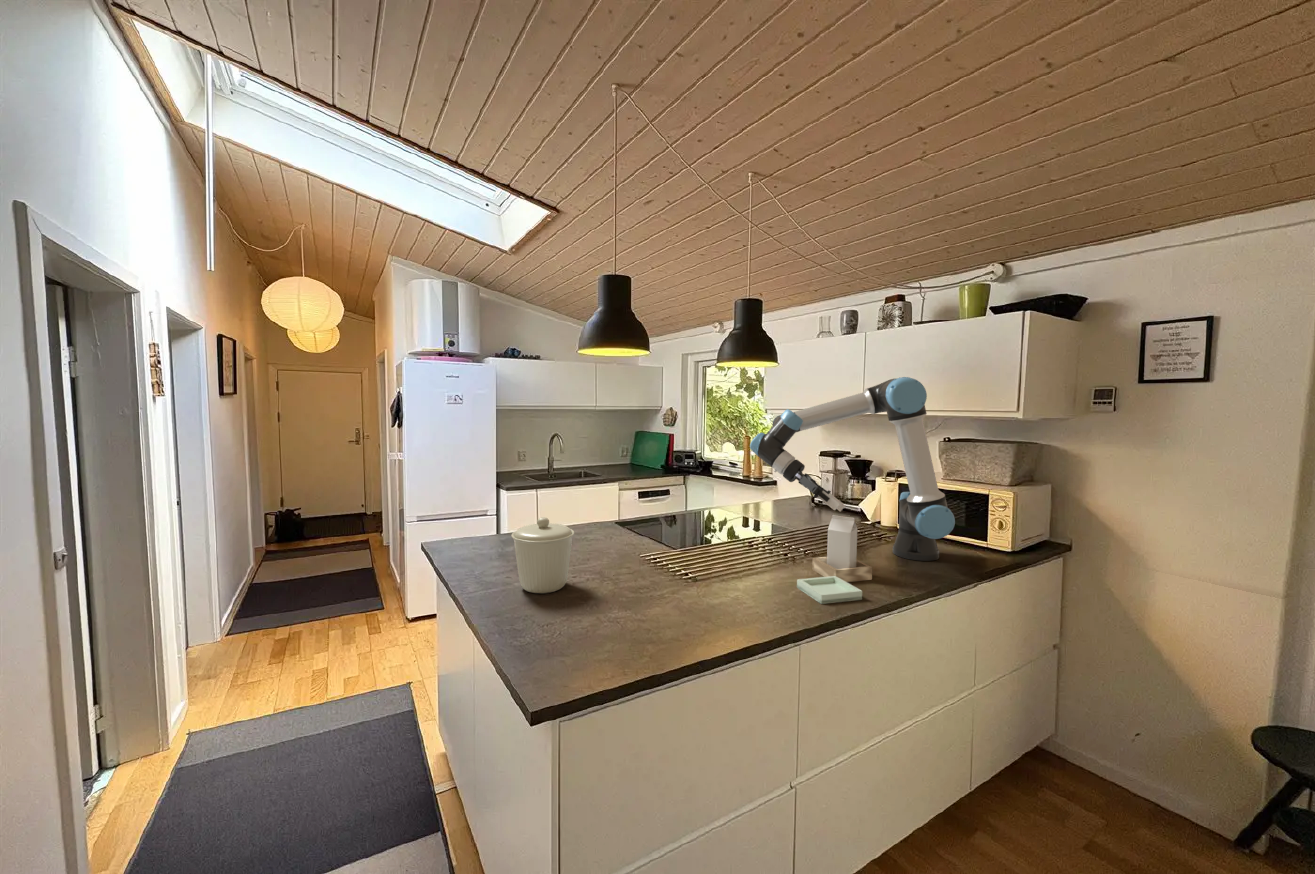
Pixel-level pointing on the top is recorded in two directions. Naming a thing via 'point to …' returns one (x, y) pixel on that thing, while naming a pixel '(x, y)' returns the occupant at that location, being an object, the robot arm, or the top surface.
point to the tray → (829, 589)
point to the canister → (543, 555)
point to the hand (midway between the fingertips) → (840, 508)
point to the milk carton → (842, 542)
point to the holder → (843, 570)
